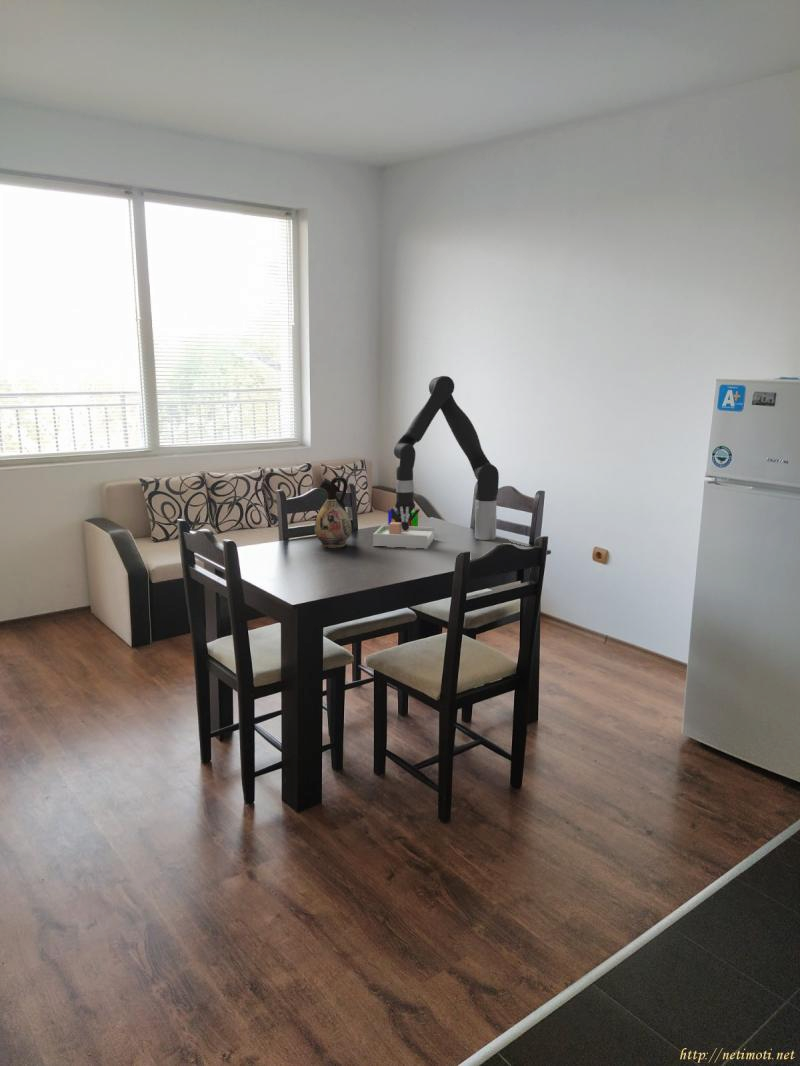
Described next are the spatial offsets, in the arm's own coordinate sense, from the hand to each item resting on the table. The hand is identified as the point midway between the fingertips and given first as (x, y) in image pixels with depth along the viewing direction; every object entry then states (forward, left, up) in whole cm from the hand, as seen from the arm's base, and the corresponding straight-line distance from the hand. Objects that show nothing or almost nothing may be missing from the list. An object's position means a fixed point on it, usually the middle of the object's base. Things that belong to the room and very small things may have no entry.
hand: (405, 530), depth 328 cm
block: (+4, 0, -2) cm, 5 cm away
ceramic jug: (+28, +11, -6) cm, 31 cm away
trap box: (+1, 0, -6) cm, 6 cm away
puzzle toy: (+5, -21, -6) cm, 22 cm away
